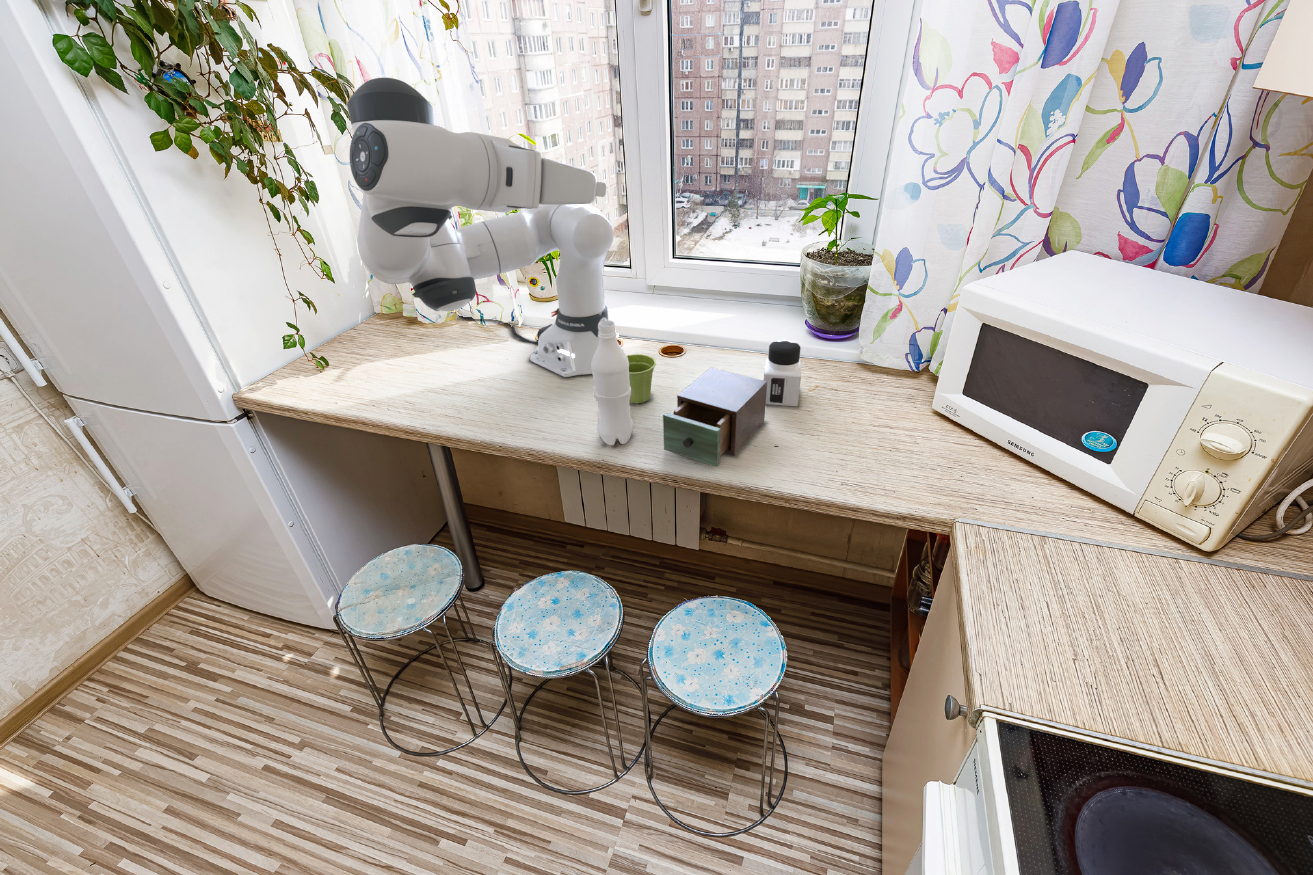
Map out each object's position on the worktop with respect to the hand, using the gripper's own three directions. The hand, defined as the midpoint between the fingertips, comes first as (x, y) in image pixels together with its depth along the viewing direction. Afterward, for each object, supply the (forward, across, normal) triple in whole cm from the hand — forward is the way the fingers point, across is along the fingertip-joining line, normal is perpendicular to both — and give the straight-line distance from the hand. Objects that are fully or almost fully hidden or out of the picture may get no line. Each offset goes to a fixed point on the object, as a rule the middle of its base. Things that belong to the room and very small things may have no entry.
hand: (582, 187), depth 85 cm
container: (+56, +3, -38) cm, 68 cm away
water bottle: (+20, -10, -47) cm, 52 cm away
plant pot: (+34, -20, -43) cm, 58 cm away
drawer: (+30, +5, -43) cm, 53 cm away
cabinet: (+37, +3, -42) cm, 57 cm away
